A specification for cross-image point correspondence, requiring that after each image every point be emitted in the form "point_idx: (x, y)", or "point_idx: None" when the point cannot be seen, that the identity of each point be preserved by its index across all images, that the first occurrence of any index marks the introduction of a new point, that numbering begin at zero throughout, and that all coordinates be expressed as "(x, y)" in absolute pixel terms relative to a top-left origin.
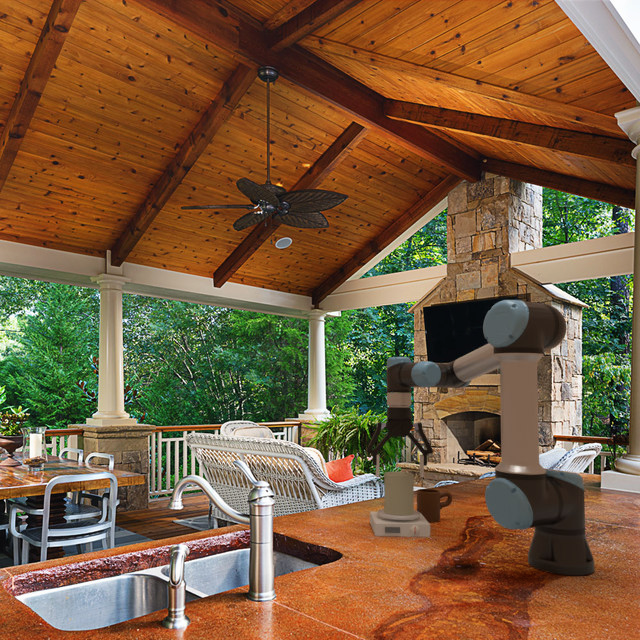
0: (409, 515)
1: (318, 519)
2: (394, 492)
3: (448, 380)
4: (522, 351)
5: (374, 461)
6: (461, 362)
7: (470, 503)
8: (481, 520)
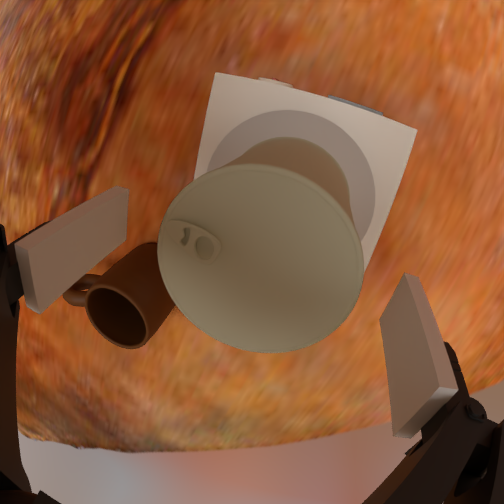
0: (267, 135)
1: (456, 347)
2: (327, 173)
3: None
4: None
5: (450, 362)
6: None
7: (55, 359)
8: None
